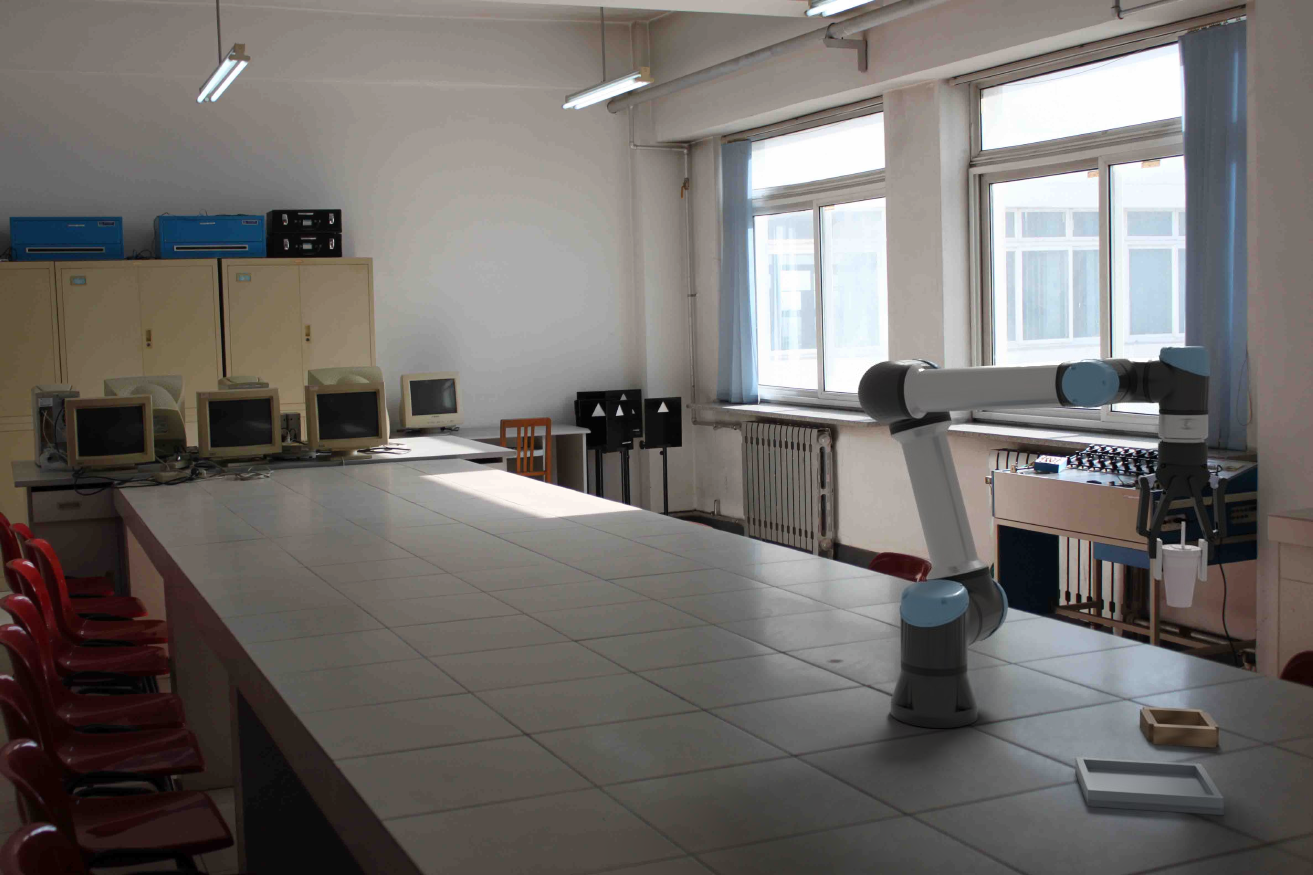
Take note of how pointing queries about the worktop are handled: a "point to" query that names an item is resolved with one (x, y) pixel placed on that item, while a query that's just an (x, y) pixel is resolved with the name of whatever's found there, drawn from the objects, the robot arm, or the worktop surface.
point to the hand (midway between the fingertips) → (1179, 578)
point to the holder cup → (1179, 727)
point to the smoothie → (1180, 571)
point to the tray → (1148, 785)
